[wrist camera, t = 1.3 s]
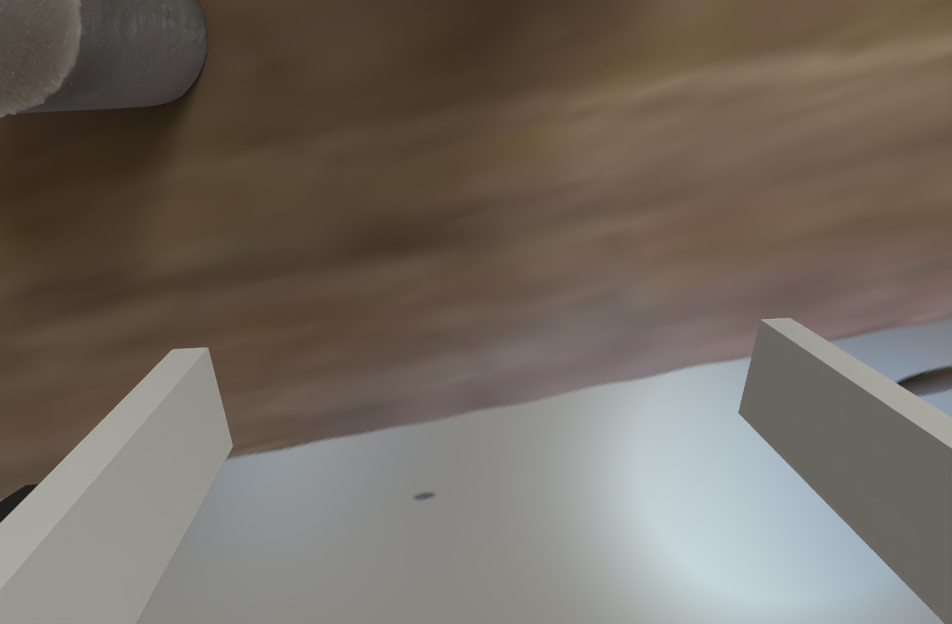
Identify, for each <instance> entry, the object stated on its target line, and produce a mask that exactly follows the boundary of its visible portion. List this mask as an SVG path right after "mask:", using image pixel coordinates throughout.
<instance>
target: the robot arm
mask: <svg viewBox="0 0 952 624" xmlns="http://www.w3.org/2000/svg"><path fill="white" fill-rule="evenodd" d="M739 414H740V415H741V416H742V417H743V418H744V419H745V420H746V421H747V422H748V423H749V424H750V425H751V426H752V427H753V428H754V429H755V430H756V431H757V432H758V433H759V434H760V435H761V436H762V438H763V439H765V441H766V442H767V443H768V444H769V445H771V447H772V448H773V449H774V450H775V451H776V452H777V453H778V454H779V455H780V456H781V457H782V458H783V459H784V460H785V461H786V462H787V463H788V464H789V465H790V466H791V467H792V468H793V469H794V470H795V471H796V472H797V473H798V474H799V475H800V476H801V477H802V478H803V479H804V480H805V481H806V482H807V483H808V484H809V485H810V486H811V488H812V489H813V490H815V492H816V493H817V494H818V495H819V496H820V497H821V498H822V499H823V500H824V501H825V502H826V503H827V504H828V505H829V506H830V507H831V508H832V509H833V510H834V511H835V512H836V513H837V514H838V515H839V516H840V517H841V518H842V519H843V520H844V521H845V522H846V523H847V524H848V525H849V526H850V527H851V528H852V529H853V530H854V531H855V532H856V533H857V534H858V535H859V536H860V538H861V539H862V540H863V541H864V542H865V543H866V544H867V545H868V546H869V547H870V548H871V549H872V550H874V552H875V553H876V554H877V555H878V556H879V557H880V558H881V559H882V560H883V561H884V562H885V563H886V564H887V565H888V566H889V567H890V568H891V569H892V570H893V571H894V572H895V573H896V574H897V575H898V576H899V577H900V578H901V579H902V580H903V581H904V582H905V583H906V584H907V585H908V586H909V588H911V590H912V591H913V592H914V593H915V594H916V595H917V596H918V597H919V598H920V599H921V600H922V601H923V602H924V603H925V604H926V605H927V606H928V607H929V608H930V609H931V610H932V611H933V612H934V613H935V614H936V615H937V616H938V617H939V618H940V619H941V620H942V621H943V622H944V623H945V624H952V418H951V417H950V416H948V415H947V414H945V413H943V412H942V411H940V410H939V409H937V408H935V407H934V406H932V405H930V404H929V403H927V402H926V401H924V400H922V399H921V398H919V397H917V396H916V395H914V394H913V393H911V392H909V391H908V390H906V389H904V388H903V387H901V386H900V385H898V384H896V383H895V382H893V381H891V380H890V379H888V378H886V377H885V376H883V375H882V374H880V373H878V372H877V371H875V370H874V369H872V368H870V367H869V366H867V365H865V364H864V363H862V362H861V361H859V360H857V359H855V358H854V357H852V356H851V355H849V354H848V353H846V352H844V351H843V350H841V349H839V348H837V347H836V346H835V345H833V344H831V343H830V342H828V341H826V340H825V339H823V338H822V337H820V336H818V335H817V334H815V333H813V332H812V331H810V330H809V329H807V328H805V327H804V326H802V325H800V324H799V323H797V322H796V321H794V320H792V319H791V318H779V319H760V324H759V328H758V332H757V336H756V341H755V345H754V349H753V353H752V358H751V362H750V366H749V371H748V375H747V380H746V383H745V387H744V392H743V396H742V400H741V405H740V409H739ZM232 447H233V444H232V440H231V436H230V432H229V428H228V424H227V421H226V417H225V413H224V409H223V405H222V401H221V397H220V393H219V389H218V385H217V381H216V377H215V373H214V369H213V365H212V361H211V357H210V353H209V349H208V347H206V348H186V349H172V350H171V351H170V352H169V353H168V354H167V355H166V356H165V357H164V358H163V359H162V360H161V361H160V362H159V363H158V364H157V366H156V367H155V368H154V369H153V370H152V371H151V372H150V373H149V374H148V375H147V376H146V377H145V378H144V379H143V380H142V381H141V382H140V383H139V384H138V385H137V386H136V387H135V388H134V389H133V390H132V391H131V392H130V393H129V394H128V395H127V396H126V397H125V398H124V399H123V400H122V401H121V402H120V403H119V404H118V405H117V406H116V407H115V408H114V409H113V410H112V411H111V412H110V413H109V414H108V415H107V416H106V417H105V418H104V419H103V420H102V421H101V422H100V423H99V424H98V425H97V426H96V427H95V428H94V429H93V430H92V431H91V432H90V433H89V434H88V435H87V436H86V437H85V438H84V439H83V440H82V441H81V442H80V443H79V444H78V445H77V446H76V447H75V448H74V449H73V450H72V451H71V452H70V453H69V454H68V455H67V456H66V457H65V458H64V459H63V460H62V461H61V462H60V463H59V464H58V465H57V466H56V467H55V469H54V470H53V471H52V472H51V473H50V474H49V475H48V476H47V477H46V478H45V479H44V480H43V481H42V482H41V483H40V484H37V485H26V486H24V487H23V488H21V489H20V490H18V491H16V492H15V493H13V494H12V495H10V496H9V497H7V498H6V499H4V500H2V501H1V502H0V624H136V623H137V621H138V619H139V617H140V616H141V614H142V612H143V610H144V608H145V606H146V605H147V603H148V601H149V599H150V597H151V595H152V594H153V592H154V590H155V588H156V586H157V584H158V583H159V581H160V579H161V577H162V575H163V573H164V572H165V570H166V568H167V566H168V564H169V562H170V561H171V559H172V557H173V555H174V553H175V551H176V550H177V548H178V546H179V544H180V542H181V541H182V538H183V537H184V535H185V533H186V531H187V530H188V528H189V526H190V524H191V522H192V520H193V518H194V517H195V515H196V513H197V511H198V509H199V508H200V506H201V504H202V502H203V500H204V498H205V497H206V495H207V493H208V491H209V489H210V487H211V486H212V484H213V482H214V480H215V478H216V476H217V474H218V473H219V471H220V469H221V467H222V465H223V464H224V462H225V460H226V458H227V456H228V454H229V453H230V451H231V449H232Z"/></svg>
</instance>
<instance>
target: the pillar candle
mask: <svg viewBox="0 0 952 624" xmlns="http://www.w3.org/2000/svg"><path fill="white" fill-rule="evenodd" d="M206 52H207V30H206V26H205V22H204V15H203V12H202V10H201V7H200V5H199V2H198V0H0V118H1V117H4V116H6V115H7V114H11V115H15V114H16V113H35V112H54V111H77V110H99V109H118V108H131V107H149V106H156V105H162V104H165V103H168V102H171V101H173V100H176V99H177V98H179V97H181V96H182V95H183V94H184V93H185V92H186V91H187V90H188V89H189V88H190V86H191V85H192V84H193V83H194V81H195V80H196V79H197V77H198V75H199V73H200V71H201V69H202V66H203V64H204V62H205V57H206Z"/></svg>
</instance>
